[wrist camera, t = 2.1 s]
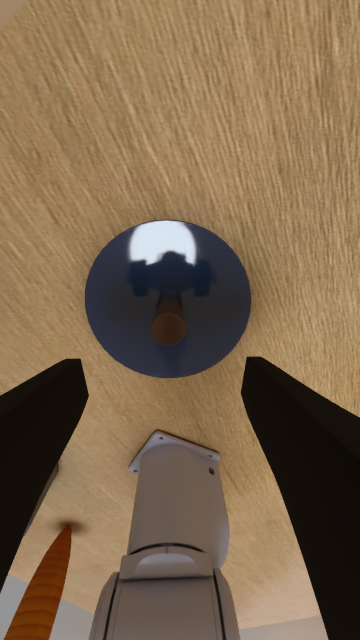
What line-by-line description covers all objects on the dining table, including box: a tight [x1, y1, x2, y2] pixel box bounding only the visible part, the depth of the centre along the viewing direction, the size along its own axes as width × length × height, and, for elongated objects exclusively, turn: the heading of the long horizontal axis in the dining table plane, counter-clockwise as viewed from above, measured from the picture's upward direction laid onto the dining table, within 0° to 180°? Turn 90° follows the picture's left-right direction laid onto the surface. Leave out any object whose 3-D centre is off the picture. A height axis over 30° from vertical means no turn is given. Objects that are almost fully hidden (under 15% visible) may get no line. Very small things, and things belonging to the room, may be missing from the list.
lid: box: [85, 220, 251, 378], centre depth 15 cm, size 14×14×5 cm
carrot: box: [4, 525, 71, 640], centre depth 24 cm, size 5×5×15 cm
